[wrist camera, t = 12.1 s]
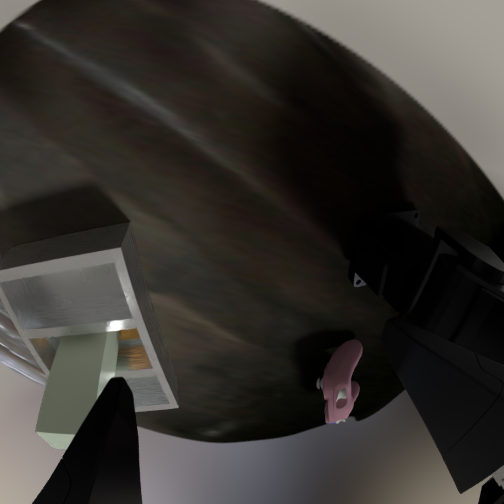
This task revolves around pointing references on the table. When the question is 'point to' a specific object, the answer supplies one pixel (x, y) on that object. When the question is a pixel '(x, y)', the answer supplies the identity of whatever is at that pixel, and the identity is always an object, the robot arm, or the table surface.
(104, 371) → the pale green rectangular block
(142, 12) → the table surface
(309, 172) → the table surface
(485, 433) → the robot arm
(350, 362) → the video game controller
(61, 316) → the rack
